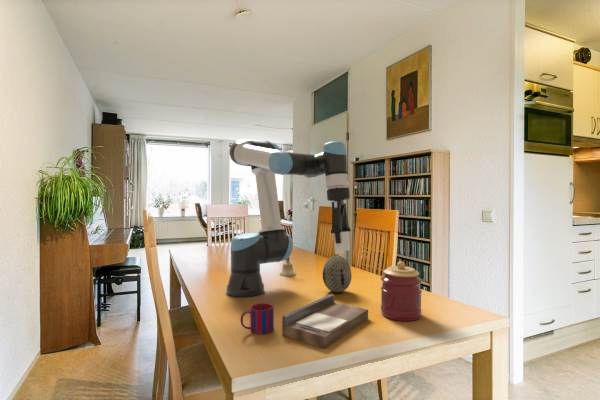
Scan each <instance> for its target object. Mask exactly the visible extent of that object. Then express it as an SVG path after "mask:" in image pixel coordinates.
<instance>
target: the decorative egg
mask: <svg viewBox="0 0 600 400" xmlns="http://www.w3.org/2000/svg"><path fill="white" fill-rule="evenodd" d="M322 281H323V283H324V286H325V287H326V288H327V290H329V291H331V292H333V293H342V292H344V291H346V290H347V289H348V288H349V286H350V285H351V282H352V269H351V267H350V264H349V262H348V260H347V259H346V258H344V256H341V255H340V254H334V255H332V256H330V257H329V258H328V259H327V260H326V261H325V262H324V265H323V269H322Z"/></svg>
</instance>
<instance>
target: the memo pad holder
mask: <svg viewBox="0 0 600 400" xmlns="http://www.w3.org/2000/svg"><path fill="white" fill-rule="evenodd" d="M281 318H282V319H281V320H282V321H281V322H282V324H281V325H282V327H281V331H282V337H283V336H284V337H287V338H290V339H293V340H296V341H298V342H303V343H306V344H309V345H311V346H315V347H318V348H322V349H327V348H328V347H329V346H331V345H333V344H334V343H335V342H337V341H338V340H340V339H341V338H342V337H344V336H345V335H347V334H349V333H350V332H351V331H352V330H354V329H356V328H357V327H358V326H360V325H361V324H363V323H364V322H366V321H367V320H369V309H367V308H363V307H359V306H353V305H349V304H345V303H340V302H335V294H333V293H330V294H328V295H327V294H326V296H323V297H320V298H319V299H317V300H314V301H312V302H310V303H307V304H306V305H305V304H304V305H303V306H301V307H298V308H297V309H294V310H292V311H290V312H288V313H285V314H283V315H282V317H281Z"/></svg>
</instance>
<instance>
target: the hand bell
mask: <svg viewBox="0 0 600 400" xmlns="http://www.w3.org/2000/svg"><path fill="white" fill-rule="evenodd" d="M296 275H297V272H296V271H295V270H294V268H293V263H292V262H290V257H289V258H288V259H286V260H285V262H283V264H282V268H281V270H280V272H279V276H282V277H293V276H296Z"/></svg>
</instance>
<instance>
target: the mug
mask: <svg viewBox="0 0 600 400" xmlns="http://www.w3.org/2000/svg"><path fill="white" fill-rule="evenodd" d="M274 308H275V307H274V305H273V304H271V303H266V302H260V303H255V304H254V303H253V304H251V306H250V310H246V311H243V312H242V313H241V315H240V325H241V326H242V327H243V328H244V329H246V330H249V331H250V332H251V333H252V334H255V335H268V334H270V333H272V332H273V331H274V328H275V327H274V324H275V323H274V318H275V317H274V313H275V312H274ZM247 314H250V321H249V322H250V326H246V325H244V316H246V315H247Z"/></svg>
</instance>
